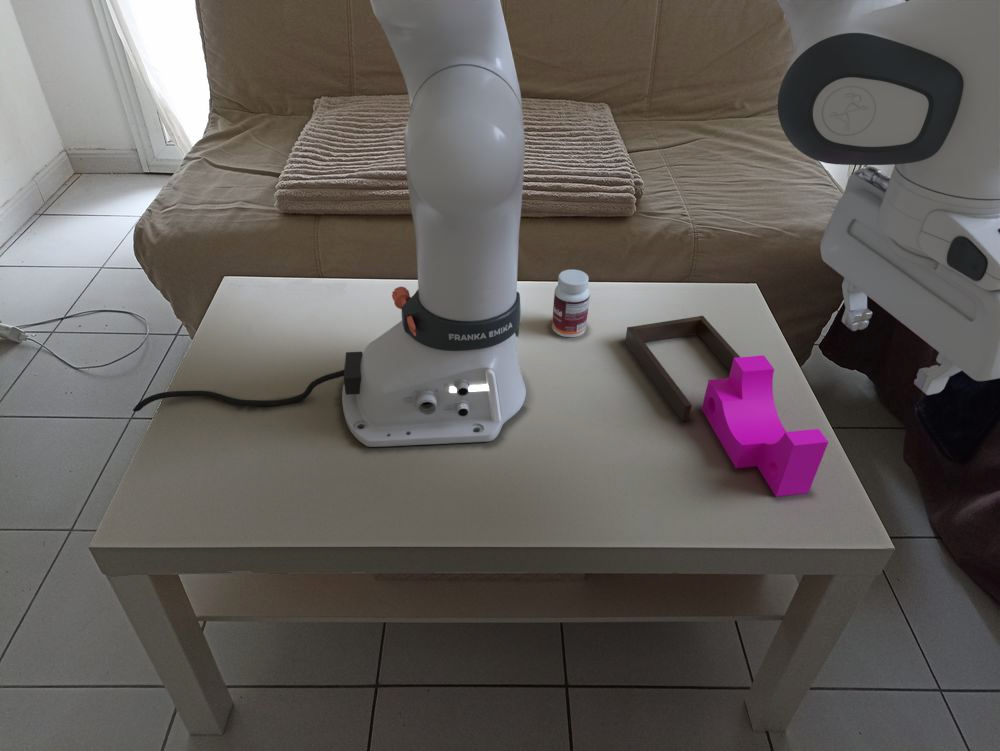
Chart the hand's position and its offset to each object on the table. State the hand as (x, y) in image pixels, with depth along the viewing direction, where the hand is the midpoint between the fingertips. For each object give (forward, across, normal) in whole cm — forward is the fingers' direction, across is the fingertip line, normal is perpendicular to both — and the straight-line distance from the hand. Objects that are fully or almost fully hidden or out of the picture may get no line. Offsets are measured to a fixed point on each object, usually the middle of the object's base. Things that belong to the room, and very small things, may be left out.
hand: (888, 355), depth 65 cm
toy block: (+21, -11, -2) cm, 24 cm away
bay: (+21, -26, -2) cm, 33 cm away
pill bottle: (+21, -39, -14) cm, 47 cm away
